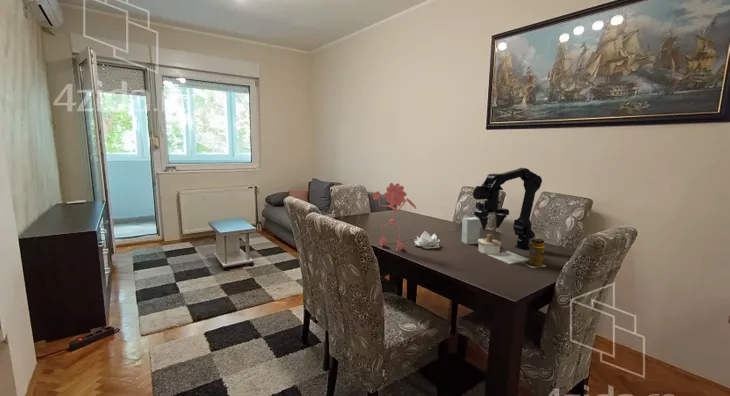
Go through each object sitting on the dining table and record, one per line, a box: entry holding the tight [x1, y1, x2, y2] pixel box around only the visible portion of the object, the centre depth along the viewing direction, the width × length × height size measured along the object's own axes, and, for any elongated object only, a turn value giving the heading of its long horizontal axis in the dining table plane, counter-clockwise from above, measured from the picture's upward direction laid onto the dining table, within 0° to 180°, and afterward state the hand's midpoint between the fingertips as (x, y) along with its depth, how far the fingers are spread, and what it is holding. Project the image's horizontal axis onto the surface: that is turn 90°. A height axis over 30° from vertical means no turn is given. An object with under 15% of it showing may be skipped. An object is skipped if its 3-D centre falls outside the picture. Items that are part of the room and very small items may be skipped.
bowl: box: [478, 243, 501, 255], centre depth 173 cm, size 10×10×5 cm
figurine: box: [372, 182, 417, 252], centre depth 175 cm, size 15×26×35 cm, turn 57°
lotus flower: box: [414, 230, 441, 249], centre depth 180 cm, size 14×15×9 cm
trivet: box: [486, 250, 529, 265], centre depth 164 cm, size 14×14×1 cm
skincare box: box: [461, 216, 481, 245], centre depth 187 cm, size 8×6×15 cm
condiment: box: [520, 237, 547, 269], centre depth 154 cm, size 7×8×12 cm
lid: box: [478, 233, 503, 247], centre depth 172 cm, size 12×12×4 cm
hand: (490, 228), depth 172 cm, fingers open, 9 cm apart
